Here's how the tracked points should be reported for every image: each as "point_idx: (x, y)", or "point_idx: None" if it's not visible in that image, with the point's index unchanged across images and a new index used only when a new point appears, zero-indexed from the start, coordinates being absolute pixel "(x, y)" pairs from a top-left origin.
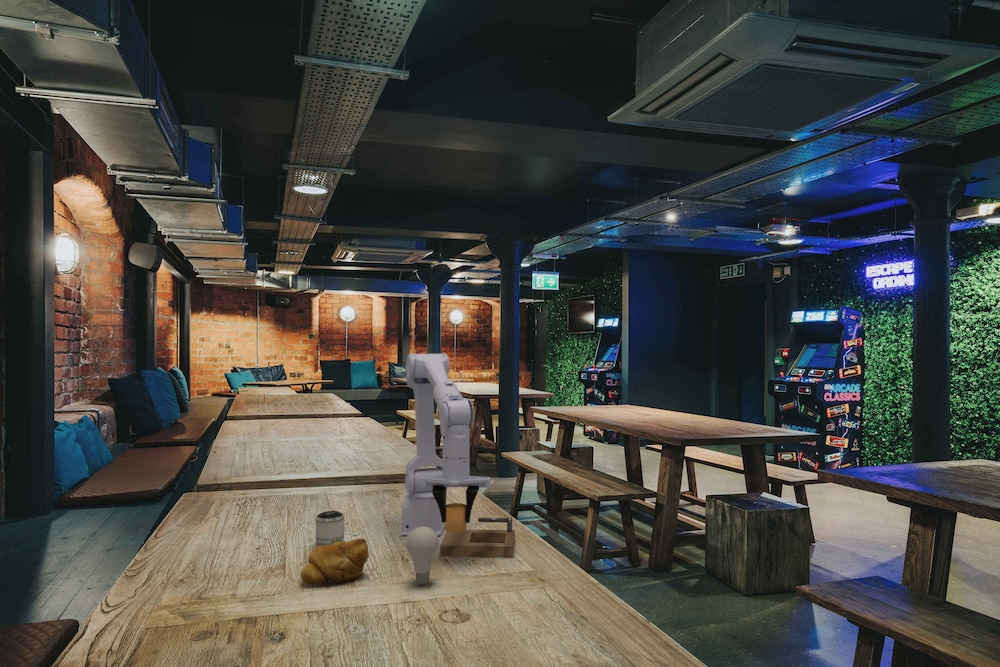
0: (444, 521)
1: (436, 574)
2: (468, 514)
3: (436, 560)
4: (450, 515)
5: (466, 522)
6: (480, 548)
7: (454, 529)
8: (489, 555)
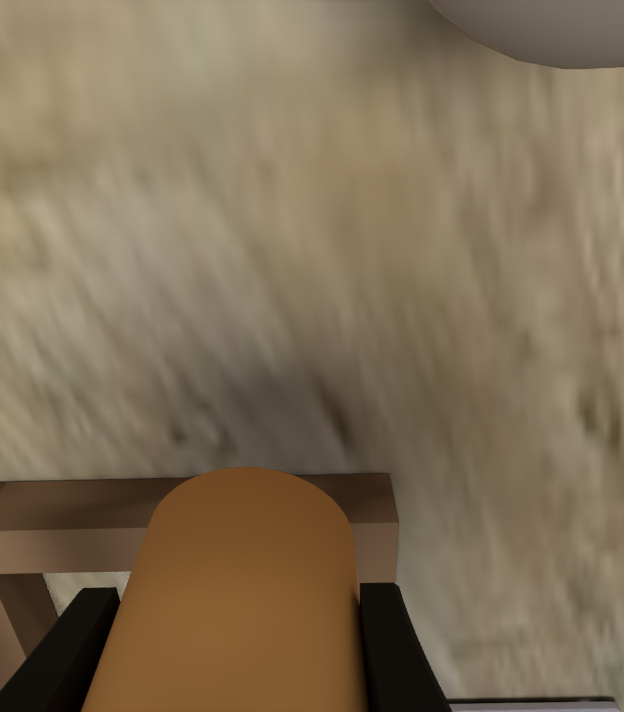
0: (368, 590)
1: (372, 173)
2: (27, 677)
3: (403, 419)
4: (279, 638)
5: (106, 592)
6: (131, 517)
7: (240, 490)
8: (89, 487)
